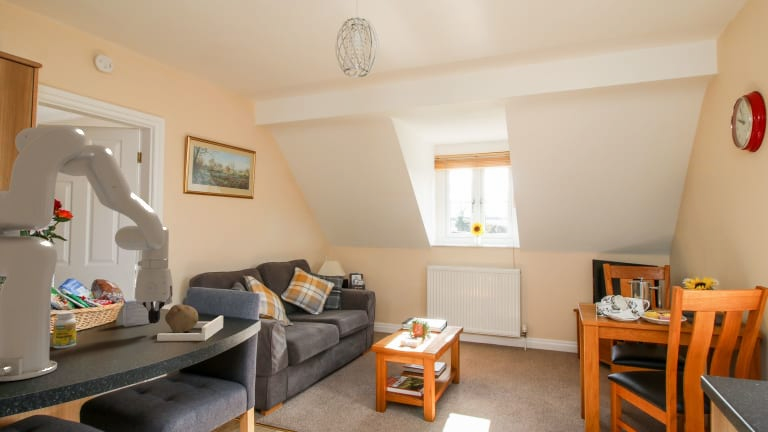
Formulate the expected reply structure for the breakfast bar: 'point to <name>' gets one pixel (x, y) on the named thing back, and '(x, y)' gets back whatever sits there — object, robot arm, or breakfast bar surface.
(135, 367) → the breakfast bar surface
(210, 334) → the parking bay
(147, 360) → the breakfast bar surface
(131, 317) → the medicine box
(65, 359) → the breakfast bar surface
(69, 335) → the supplement bottle
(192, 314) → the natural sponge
